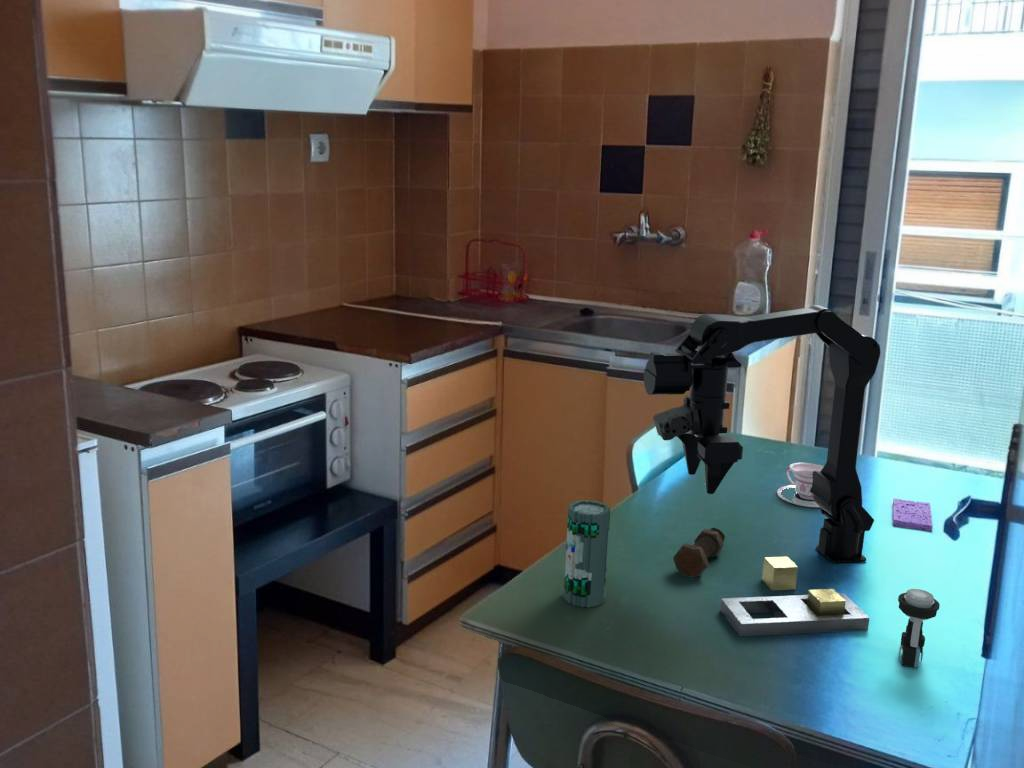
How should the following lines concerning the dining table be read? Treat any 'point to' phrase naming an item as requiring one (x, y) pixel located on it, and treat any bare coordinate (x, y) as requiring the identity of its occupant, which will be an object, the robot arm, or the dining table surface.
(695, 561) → the bolt
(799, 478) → the teacup
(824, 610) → the tan wooden cube
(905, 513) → the sponges
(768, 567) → the beige wood block
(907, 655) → the push button
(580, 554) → the can
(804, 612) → the rectangular frame
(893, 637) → the dining table surface
